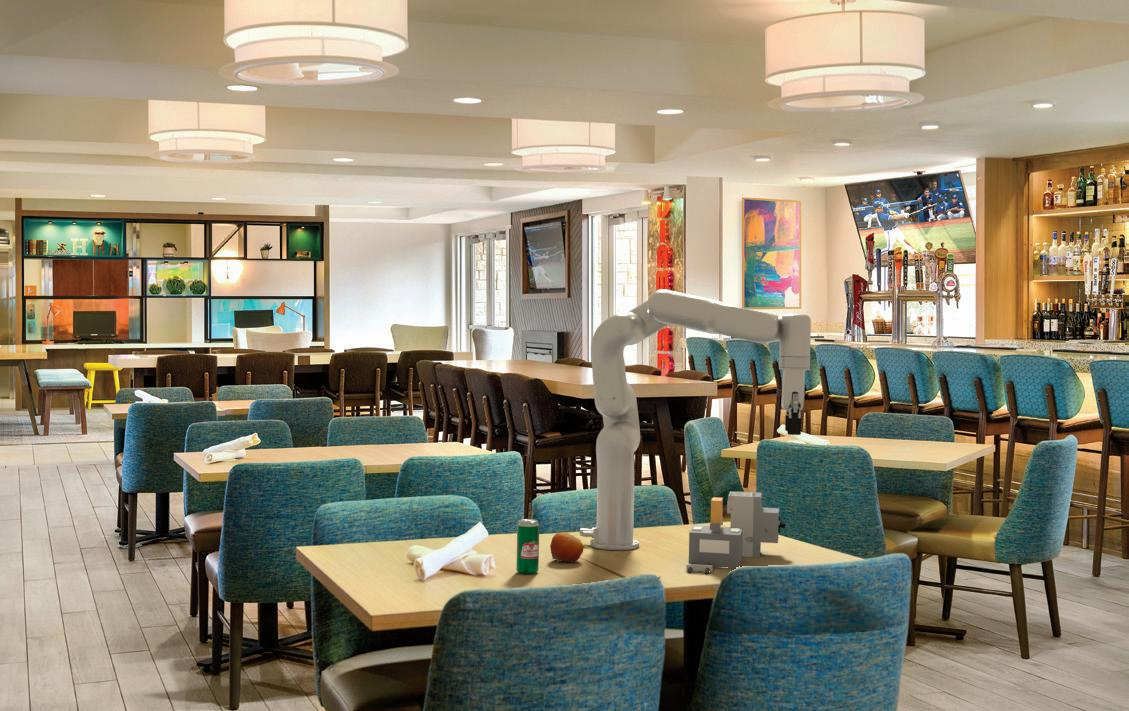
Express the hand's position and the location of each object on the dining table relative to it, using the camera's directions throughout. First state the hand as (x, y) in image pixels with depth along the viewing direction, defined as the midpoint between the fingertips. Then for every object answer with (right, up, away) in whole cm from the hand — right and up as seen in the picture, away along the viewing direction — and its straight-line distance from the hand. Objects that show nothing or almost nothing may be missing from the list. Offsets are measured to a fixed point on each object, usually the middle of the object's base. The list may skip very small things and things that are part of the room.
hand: (792, 432), depth 290 cm
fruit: (-56, -31, -9) cm, 65 cm away
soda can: (-65, -31, -23) cm, 75 cm away
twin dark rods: (-25, -31, -17) cm, 43 cm away
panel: (-20, -31, -9) cm, 38 cm away
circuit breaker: (-9, -31, +3) cm, 32 cm away
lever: (-20, -21, -9) cm, 31 cm away
